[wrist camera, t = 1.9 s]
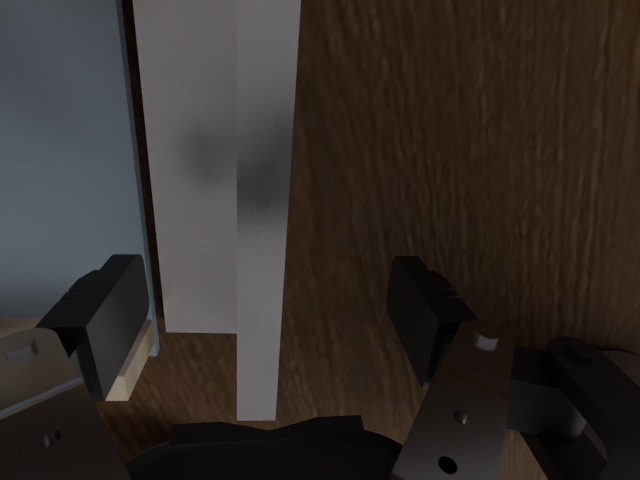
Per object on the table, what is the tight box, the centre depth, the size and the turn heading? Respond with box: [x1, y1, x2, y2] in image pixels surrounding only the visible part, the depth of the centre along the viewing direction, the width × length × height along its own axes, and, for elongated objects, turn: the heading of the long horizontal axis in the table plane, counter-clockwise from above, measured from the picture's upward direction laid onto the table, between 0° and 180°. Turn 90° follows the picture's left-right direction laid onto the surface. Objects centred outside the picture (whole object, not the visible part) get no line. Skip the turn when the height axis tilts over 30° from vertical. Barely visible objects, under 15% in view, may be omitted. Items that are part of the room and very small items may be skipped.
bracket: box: [133, 0, 301, 421], centre depth 15 cm, size 16×6×7 cm, turn 175°
